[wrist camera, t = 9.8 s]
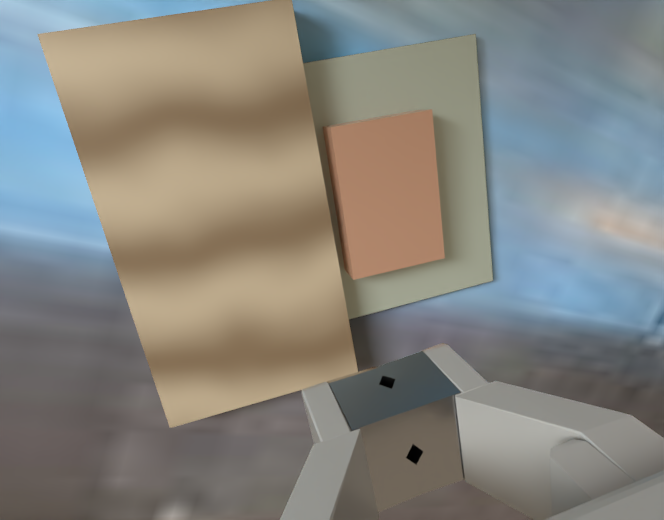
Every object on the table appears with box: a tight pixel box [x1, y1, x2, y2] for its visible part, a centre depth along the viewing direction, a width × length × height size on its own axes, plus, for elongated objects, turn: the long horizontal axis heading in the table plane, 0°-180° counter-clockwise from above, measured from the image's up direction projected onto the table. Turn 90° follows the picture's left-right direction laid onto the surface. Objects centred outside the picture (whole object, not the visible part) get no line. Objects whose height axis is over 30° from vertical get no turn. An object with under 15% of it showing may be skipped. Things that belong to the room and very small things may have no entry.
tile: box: [323, 109, 445, 280], centre depth 29 cm, size 9×6×2 cm, turn 9°
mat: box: [303, 34, 493, 319], centre depth 31 cm, size 16×11×1 cm
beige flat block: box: [38, 0, 358, 428], centre depth 28 cm, size 22×12×2 cm, turn 10°
